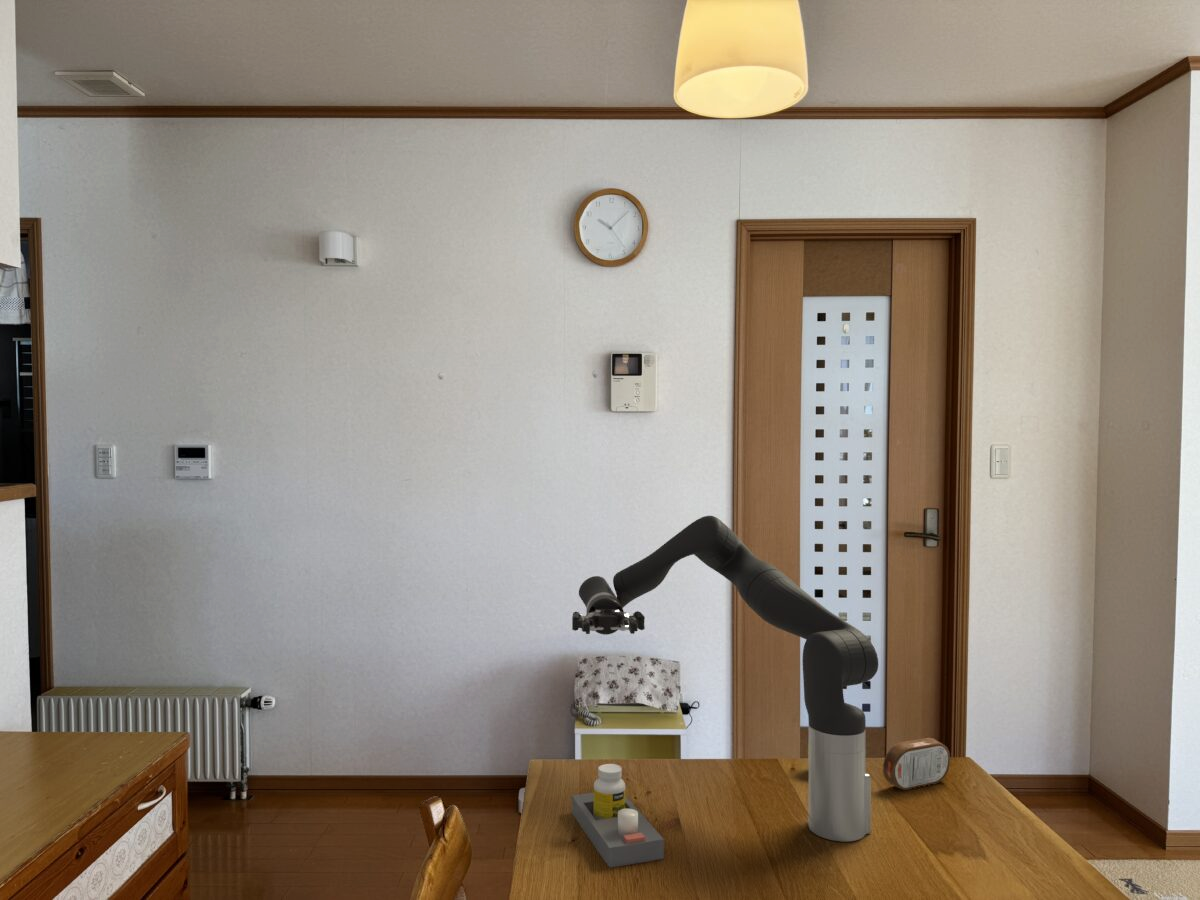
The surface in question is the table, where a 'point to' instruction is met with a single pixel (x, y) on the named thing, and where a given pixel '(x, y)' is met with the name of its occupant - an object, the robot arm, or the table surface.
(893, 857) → the table surface
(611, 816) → the supplement bottle
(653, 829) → the grey square-hole tray
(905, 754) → the tin
